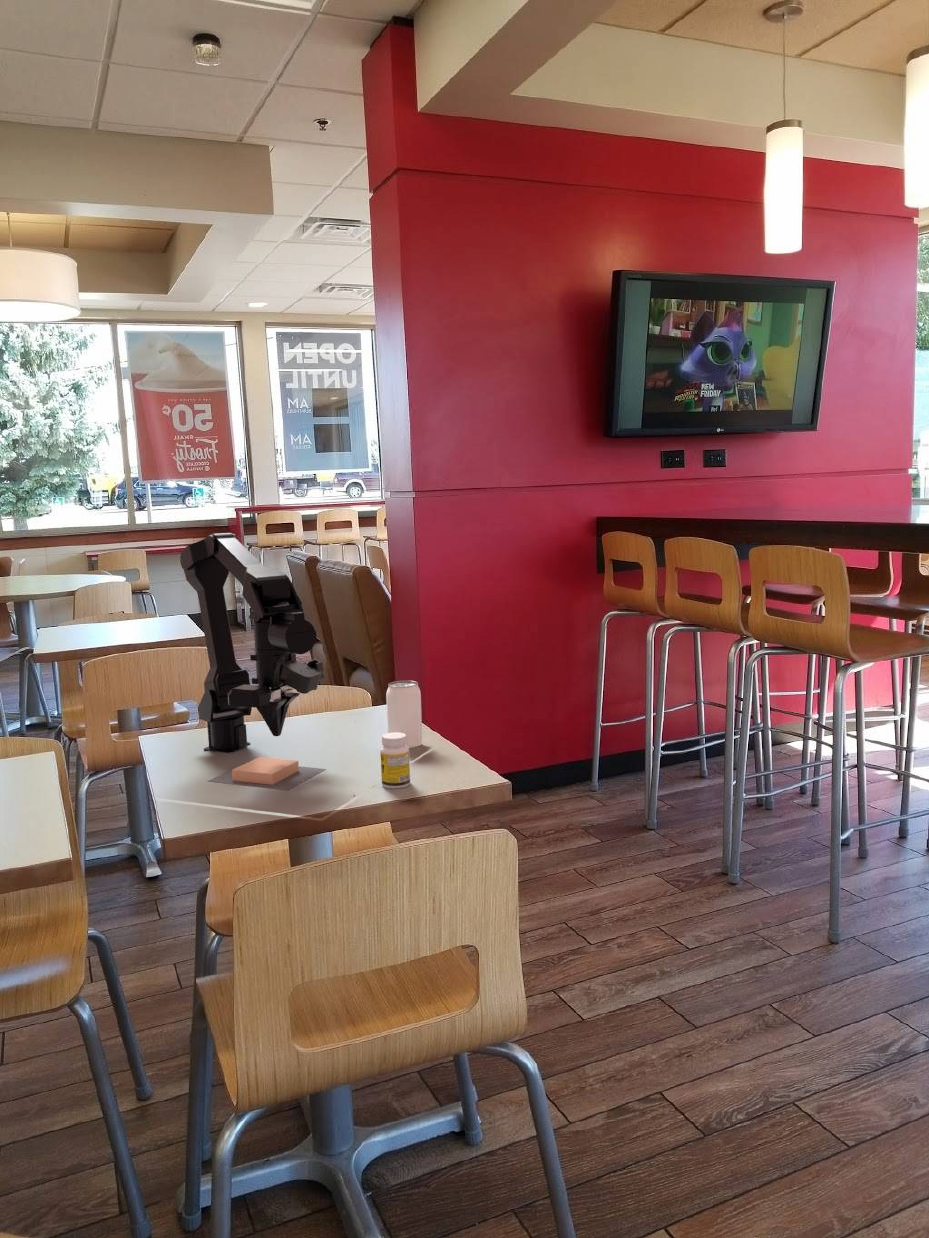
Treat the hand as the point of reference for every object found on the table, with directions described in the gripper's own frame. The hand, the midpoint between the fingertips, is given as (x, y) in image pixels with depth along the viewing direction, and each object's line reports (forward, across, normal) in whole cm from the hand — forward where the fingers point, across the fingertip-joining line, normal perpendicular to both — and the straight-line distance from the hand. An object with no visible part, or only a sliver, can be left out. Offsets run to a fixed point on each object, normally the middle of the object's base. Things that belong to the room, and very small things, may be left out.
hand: (276, 735), depth 163 cm
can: (+7, +22, -14) cm, 27 cm away
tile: (+5, 0, 0) cm, 5 cm away
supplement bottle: (+6, 0, -23) cm, 24 cm away
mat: (+6, -4, 0) cm, 7 cm away
